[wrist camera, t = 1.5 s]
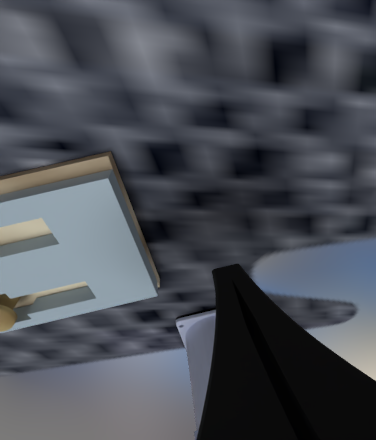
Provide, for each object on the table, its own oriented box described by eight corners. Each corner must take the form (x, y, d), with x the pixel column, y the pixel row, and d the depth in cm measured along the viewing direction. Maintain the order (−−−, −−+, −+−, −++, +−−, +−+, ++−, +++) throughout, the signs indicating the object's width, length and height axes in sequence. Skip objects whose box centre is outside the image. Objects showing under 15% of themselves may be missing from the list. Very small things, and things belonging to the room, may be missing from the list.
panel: (157, 281, 19) (157, 296, 17) (0, 318, 18) (-12, 335, 17) (112, 169, 13) (107, 178, 12) (-116, 221, 13) (-146, 236, 11)
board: (159, 278, 20) (160, 310, 17) (-51, 327, 20) (-85, 368, 17) (110, 151, 13) (98, 169, 10) (-206, 223, 13) (-306, 261, 10)
